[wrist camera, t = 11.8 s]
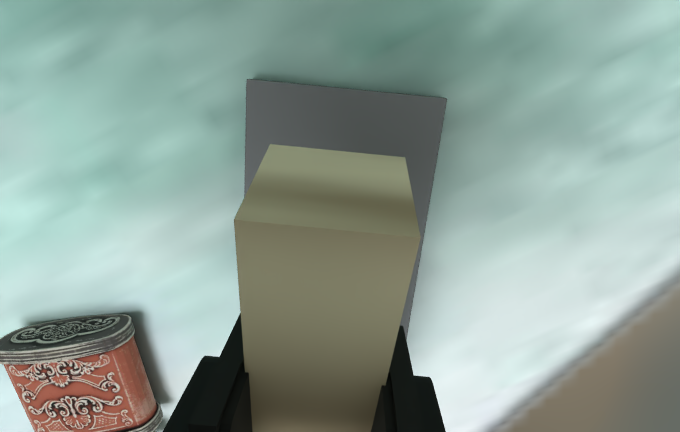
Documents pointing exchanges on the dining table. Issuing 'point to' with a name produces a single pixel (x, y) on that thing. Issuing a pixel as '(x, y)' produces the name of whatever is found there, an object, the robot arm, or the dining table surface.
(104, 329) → the lighter
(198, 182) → the dining table surface
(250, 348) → the turner
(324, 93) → the mat
